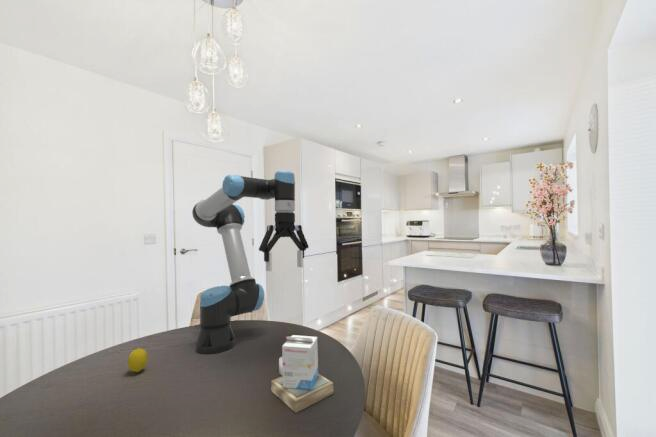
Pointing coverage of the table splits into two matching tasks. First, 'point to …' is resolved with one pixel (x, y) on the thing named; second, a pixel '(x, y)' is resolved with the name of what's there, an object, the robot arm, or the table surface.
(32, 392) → the table surface
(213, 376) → the table surface
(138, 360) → the lemon
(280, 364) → the white domed cylinder
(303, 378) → the ink box
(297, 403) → the oak picture frame
